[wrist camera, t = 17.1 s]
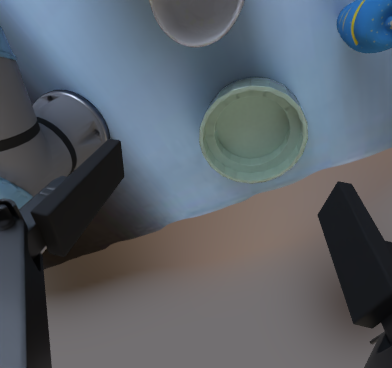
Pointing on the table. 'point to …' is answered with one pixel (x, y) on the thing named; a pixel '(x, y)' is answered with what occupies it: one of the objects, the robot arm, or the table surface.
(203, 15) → the teacup
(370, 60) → the table surface
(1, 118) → the robot arm
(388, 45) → the ornament
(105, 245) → the table surface
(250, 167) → the bowl
